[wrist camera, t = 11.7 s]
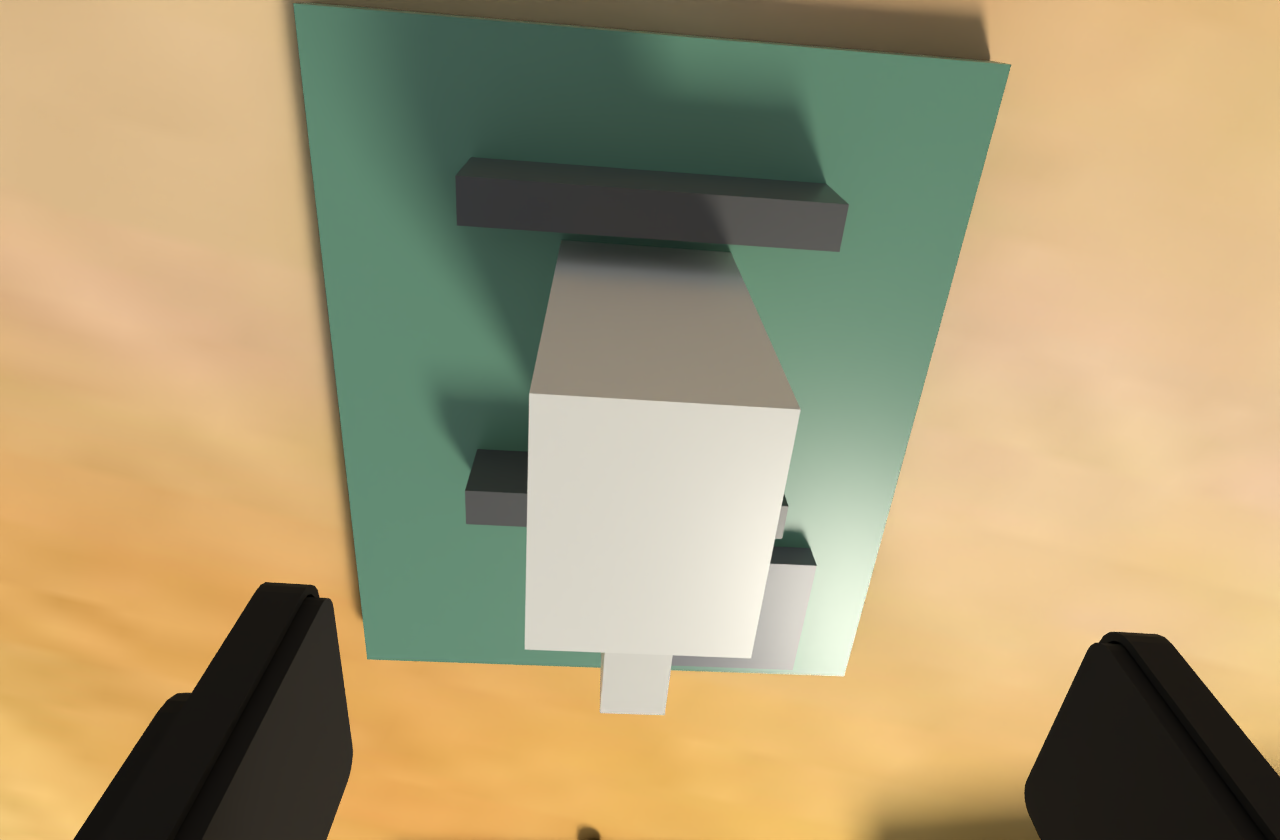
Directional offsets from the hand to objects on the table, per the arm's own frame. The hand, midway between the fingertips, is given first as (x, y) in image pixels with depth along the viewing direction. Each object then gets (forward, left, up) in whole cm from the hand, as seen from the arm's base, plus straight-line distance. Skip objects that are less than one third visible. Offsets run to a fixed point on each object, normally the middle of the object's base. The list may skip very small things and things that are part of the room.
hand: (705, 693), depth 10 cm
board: (+1, +2, -12) cm, 12 cm away
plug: (+1, 0, -11) cm, 11 cm away
